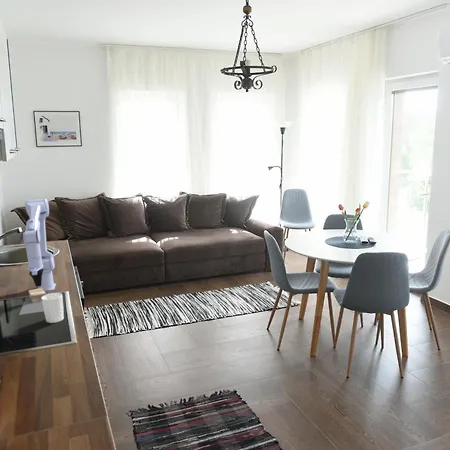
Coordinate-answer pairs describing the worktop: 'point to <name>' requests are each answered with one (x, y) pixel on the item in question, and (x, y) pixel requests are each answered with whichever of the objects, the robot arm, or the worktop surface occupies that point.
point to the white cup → (53, 307)
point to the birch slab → (36, 294)
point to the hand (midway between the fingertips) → (38, 286)
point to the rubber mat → (31, 307)
